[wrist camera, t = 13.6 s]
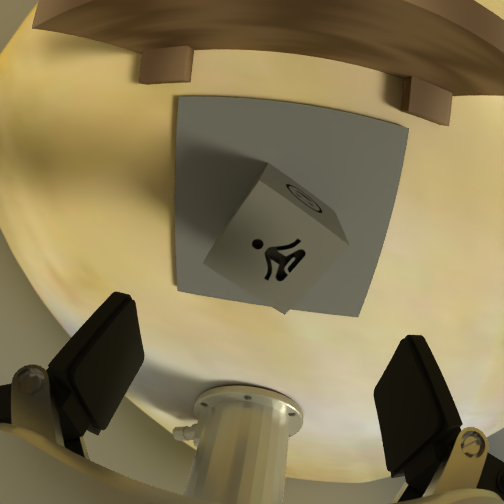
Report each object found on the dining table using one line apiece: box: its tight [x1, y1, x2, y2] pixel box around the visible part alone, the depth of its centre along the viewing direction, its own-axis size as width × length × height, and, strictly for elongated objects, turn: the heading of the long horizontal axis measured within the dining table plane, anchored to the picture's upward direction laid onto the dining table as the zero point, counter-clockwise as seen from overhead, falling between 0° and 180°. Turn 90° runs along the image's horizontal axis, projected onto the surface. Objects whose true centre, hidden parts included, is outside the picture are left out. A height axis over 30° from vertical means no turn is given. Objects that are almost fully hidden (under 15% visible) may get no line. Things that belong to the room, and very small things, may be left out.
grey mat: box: [175, 96, 409, 317], centre depth 18 cm, size 14×14×1 cm
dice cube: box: [202, 163, 350, 315], centre depth 15 cm, size 5×5×5 cm
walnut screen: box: [32, 0, 504, 126], centre depth 8 cm, size 20×6×10 cm, turn 85°
